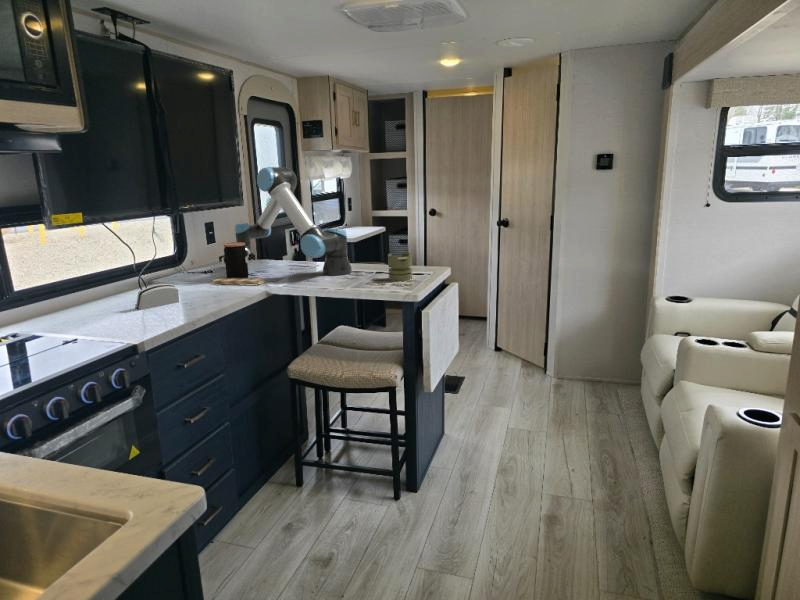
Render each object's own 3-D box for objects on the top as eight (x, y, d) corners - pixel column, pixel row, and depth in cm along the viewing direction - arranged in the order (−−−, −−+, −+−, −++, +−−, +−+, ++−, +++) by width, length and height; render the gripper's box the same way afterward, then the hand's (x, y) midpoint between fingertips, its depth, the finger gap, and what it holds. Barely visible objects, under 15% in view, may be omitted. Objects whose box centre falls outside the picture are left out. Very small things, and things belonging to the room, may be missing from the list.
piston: (385, 253, 257) (407, 252, 260) (386, 278, 259) (407, 276, 263) (391, 256, 246) (414, 255, 249) (392, 282, 249) (415, 279, 252)
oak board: (265, 282, 258) (264, 278, 258) (258, 285, 252) (258, 280, 251) (220, 281, 263) (220, 277, 263) (213, 284, 257) (212, 280, 256)
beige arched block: (174, 300, 226) (175, 279, 221) (179, 305, 223) (180, 284, 219) (134, 308, 214) (134, 286, 209) (139, 314, 211) (139, 292, 207)
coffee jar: (252, 276, 273) (248, 241, 268) (244, 280, 262) (240, 244, 258) (232, 277, 274) (228, 242, 269) (223, 281, 263) (219, 245, 259)
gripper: (264, 260, 285) (259, 266, 264) (220, 262, 282) (211, 269, 261) (263, 246, 283) (257, 251, 262) (218, 248, 281) (209, 254, 259)
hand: (234, 260), depth 262 cm, fingers closed on coffee jar, 11 cm apart
